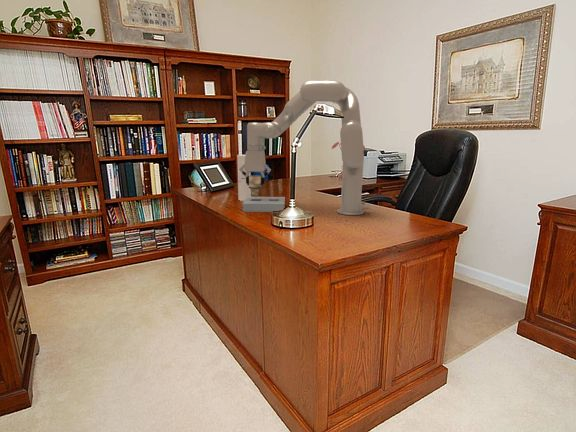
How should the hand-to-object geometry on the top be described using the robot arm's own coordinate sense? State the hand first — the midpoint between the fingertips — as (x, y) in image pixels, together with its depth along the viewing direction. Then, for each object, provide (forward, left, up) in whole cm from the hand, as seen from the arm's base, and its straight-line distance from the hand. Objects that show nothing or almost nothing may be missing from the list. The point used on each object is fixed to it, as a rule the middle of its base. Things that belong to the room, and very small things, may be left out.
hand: (255, 184), depth 175 cm
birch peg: (0, 0, -6) cm, 6 cm away
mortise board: (-5, 0, -12) cm, 13 cm away
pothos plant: (-62, -105, -12) cm, 122 cm away
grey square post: (+8, -21, -12) cm, 25 cm away
